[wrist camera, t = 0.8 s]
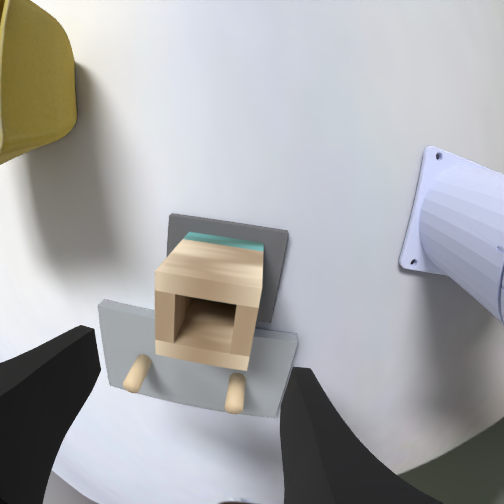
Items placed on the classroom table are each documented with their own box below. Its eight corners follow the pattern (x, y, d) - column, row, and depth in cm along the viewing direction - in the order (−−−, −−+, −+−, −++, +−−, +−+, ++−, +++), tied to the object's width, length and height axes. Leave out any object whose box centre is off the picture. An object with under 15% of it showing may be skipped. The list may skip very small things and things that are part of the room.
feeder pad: (287, 230, 18) (288, 233, 18) (270, 317, 20) (270, 322, 20) (172, 213, 18) (169, 215, 18) (167, 300, 20) (165, 304, 20)
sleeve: (263, 242, 18) (262, 288, 12) (252, 308, 19) (246, 371, 14) (189, 231, 18) (155, 270, 12) (184, 297, 19) (155, 354, 14)
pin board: (296, 333, 20) (301, 371, 17) (274, 409, 23) (275, 446, 19) (104, 299, 20) (77, 327, 17) (113, 378, 23) (96, 408, 19)
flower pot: (16, 174, 18) (-73, 198, 9) (10, 72, 15) (-73, 64, 6) (104, 143, 17) (2, 152, 8) (97, 26, 14) (13, -18, 6)
